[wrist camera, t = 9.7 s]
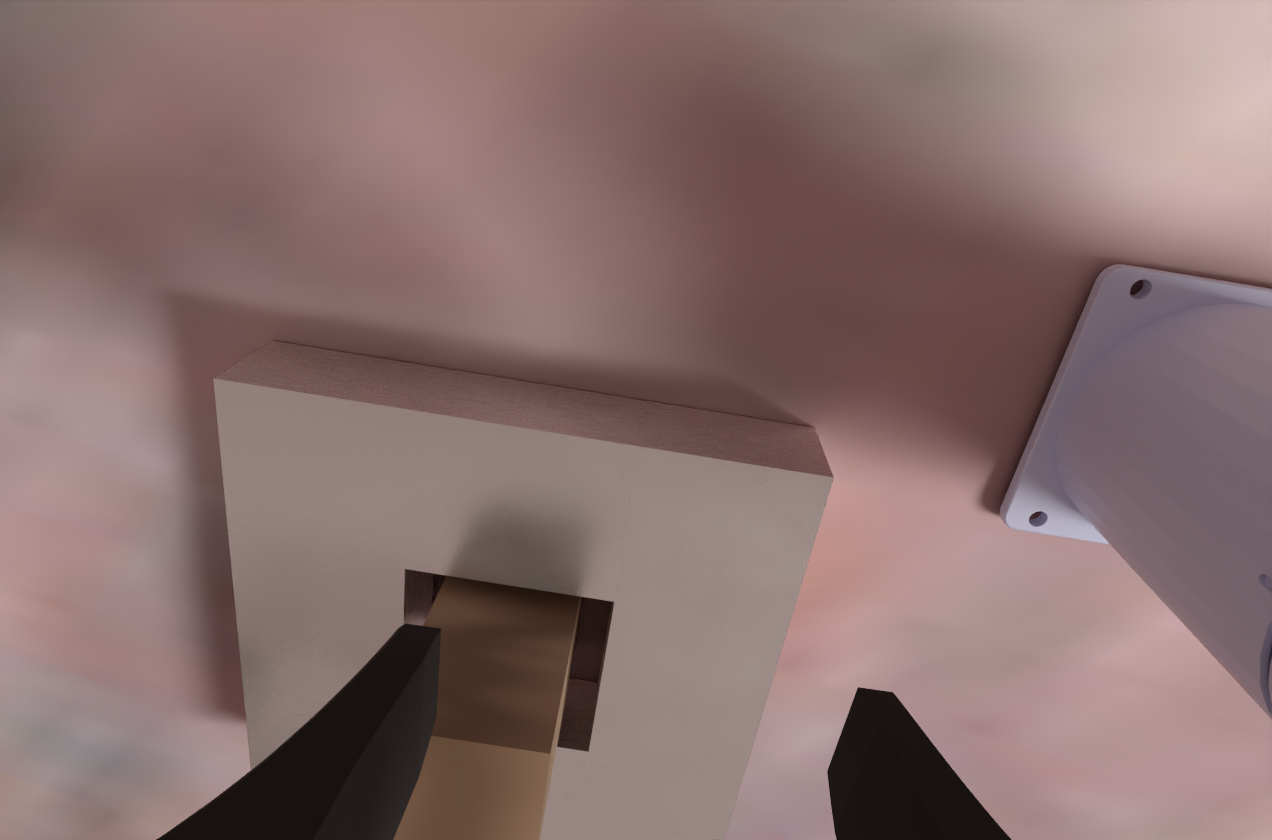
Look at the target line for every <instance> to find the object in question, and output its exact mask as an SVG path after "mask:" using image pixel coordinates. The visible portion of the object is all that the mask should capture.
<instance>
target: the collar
mask: <svg viewBox="0 0 1272 840" xmlns="http://www.w3.org/2000/svg"><path fill="white" fill-rule="evenodd" d="M213 382H214V392H215V403H216V413H217V423H218V434H219V444H220V455H221V465H222V475H223V486H224V496H225V506H226V517H227V527H228V537H229V548H230V558H231V568H232V579H233V589H234V599H235V610H236V620H237V631H238V641H239V651H240V662H241V672H242V682H243V693H244V703H245V713H246V724H247V734H248V744H249V755H250V765H251V770H252V769H253V768H255V767H256V766H257V765H258V764H259V763H261V762H262V761H263V760H264V759H266V758H267V757H268V756H269V755H270V754H272V753H273V752H274V751H275V750H276V749H277V748H278V747H279V746H281V745H282V744H283V743H284V742H285V741H286V740H287V739H288V738H290V737H291V736H292V735H293V734H294V733H295V732H296V731H298V730H299V729H300V728H301V727H302V726H303V725H304V724H305V723H307V722H308V721H309V720H310V719H311V718H312V717H313V716H314V715H315V714H316V713H317V712H318V711H320V710H321V709H322V708H323V707H324V706H325V705H326V704H327V703H328V702H329V701H330V700H331V699H332V698H333V697H334V696H335V695H336V694H337V693H338V692H339V691H340V690H341V689H342V688H343V687H344V686H345V685H346V684H347V683H348V682H349V681H350V680H351V679H352V678H353V677H354V676H355V675H356V674H357V673H358V672H359V671H360V670H361V669H362V668H363V667H364V666H365V665H366V663H367V662H368V661H369V660H370V659H371V658H372V657H373V656H374V655H375V654H376V653H377V652H378V651H379V649H380V648H381V647H382V646H383V645H384V644H385V643H386V642H387V641H388V639H389V638H390V637H391V636H392V635H393V634H394V632H395V631H396V630H397V629H398V628H399V627H401V626H402V625H404V624H405V623H406V624H413V625H420V626H423V624H424V622H425V620H426V618H427V616H428V614H429V611H430V609H431V607H432V602H433V580H434V574H440V575H446V576H453V577H459V578H465V579H472V580H478V581H485V582H491V583H497V584H504V585H510V586H517V587H523V588H529V589H536V590H542V591H548V592H555V593H561V594H568V595H574V596H580V597H587V598H593V599H599V600H606V601H612V604H611V609H610V615H609V621H608V627H607V633H606V639H605V645H604V650H603V656H602V662H601V668H600V674H599V680H598V682H593V681H587V680H580V679H574V678H570V679H569V684H568V690H567V695H566V700H565V706H564V711H563V717H562V722H561V727H560V733H559V738H558V744H557V749H556V754H555V760H554V765H553V770H552V776H551V781H550V787H549V792H548V797H547V803H546V808H545V814H544V819H543V824H542V830H541V835H540V840H724V839H725V836H726V833H727V829H728V826H729V823H730V819H731V816H732V813H733V809H734V806H735V803H736V800H737V796H738V793H739V790H740V786H741V783H742V780H743V776H744V773H745V770H746V766H747V763H748V760H749V756H750V753H751V750H752V747H753V743H754V740H755V737H756V733H757V730H758V727H759V723H760V720H761V717H762V713H763V710H764V707H765V703H766V700H767V697H768V694H769V690H770V687H771V684H772V680H773V677H774V674H775V670H776V667H777V664H778V660H779V657H780V654H781V650H782V647H783V644H784V641H785V637H786V634H787V631H788V627H789V624H790V621H791V617H792V614H793V611H794V607H795V604H796V601H797V597H798V594H799V591H800V588H801V584H802V581H803V578H804V574H805V571H806V568H807V564H808V561H809V558H810V554H811V551H812V548H813V545H814V541H815V538H816V535H817V531H818V528H819V525H820V521H821V518H822V515H823V511H824V508H825V505H826V501H827V498H828V495H829V492H830V488H831V485H832V482H833V478H834V477H833V474H832V472H831V469H830V466H829V464H828V461H827V459H826V456H825V453H824V451H823V448H822V446H821V443H820V440H819V438H818V435H817V433H816V430H815V428H813V427H807V426H801V425H794V424H788V423H782V422H776V421H770V420H763V419H757V418H751V417H745V416H738V415H732V414H726V413H720V412H714V411H707V410H701V409H695V408H689V407H682V406H676V405H670V404H664V403H658V402H651V401H645V400H639V399H633V398H626V397H620V396H614V395H608V394H601V393H595V392H589V391H583V390H577V389H570V388H564V387H558V386H552V385H545V384H539V383H533V382H527V381H521V380H514V379H508V378H502V377H496V376H489V375H483V374H477V373H471V372H465V371H458V370H452V369H446V368H440V367H433V366H427V365H421V364H415V363H409V362H402V361H396V360H390V359H384V358H377V357H371V356H365V355H359V354H352V353H346V352H340V351H334V350H328V349H321V348H315V347H309V346H303V345H296V344H290V343H284V342H278V341H271V342H269V343H267V344H266V345H264V346H263V347H261V348H260V349H258V350H257V351H255V352H253V353H252V354H250V355H249V356H247V357H246V358H244V359H243V360H241V361H239V362H238V363H236V364H235V365H233V366H232V367H230V368H228V369H227V370H225V371H224V372H222V373H221V374H219V375H218V376H216V377H214V378H213Z"/></svg>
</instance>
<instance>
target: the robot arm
mask: <svg viewBox="0 0 1272 840" xmlns="http://www.w3.org/2000/svg"><path fill="white" fill-rule="evenodd" d="M1139 280H1143V287H1142V289H1141V290H1140V291H1139V292H1138V293H1136V294H1135V295H1130V289H1131V287H1132V285H1133V284H1134V283H1135V282H1137V281H1139ZM1039 511H1042V512H1041V514H1040V516H1039V517H1037V518H1035V519H1029V517H1030V516H1031V515H1032V514H1033V513H1035V512H1039ZM1000 516H1001V519H1002V520H1003V522H1004V523H1005V524H1006V525H1007V526H1008V527H1009V528H1012V529H1015V530H1021V531H1027V532H1033V533H1040V534H1046V535H1052V536H1058V537H1065V538H1071V539H1077V540H1083V541H1090V542H1096V543H1102V544H1109V545H1111V546H1112V547H1113V548H1114V549H1115V550H1116V551H1117V552H1118V553H1119V555H1120V556H1121V557H1122V558H1123V559H1124V560H1125V561H1126V562H1127V563H1128V564H1129V565H1130V566H1131V568H1132V569H1133V570H1134V571H1135V572H1136V573H1137V574H1138V575H1139V576H1140V577H1141V578H1142V579H1143V581H1144V582H1145V583H1146V584H1147V585H1148V586H1149V587H1150V588H1151V589H1152V590H1153V591H1154V592H1155V594H1156V595H1157V596H1158V597H1159V598H1160V599H1161V600H1162V601H1163V602H1164V603H1165V604H1166V605H1167V606H1168V608H1169V609H1170V610H1171V611H1172V612H1173V613H1174V614H1175V615H1176V616H1177V617H1178V618H1179V619H1180V621H1181V622H1182V623H1183V624H1184V625H1185V626H1186V627H1187V628H1188V629H1189V630H1190V631H1191V632H1192V634H1193V635H1194V636H1195V637H1196V638H1197V639H1198V640H1199V641H1200V642H1201V643H1202V644H1203V645H1204V647H1205V648H1206V649H1207V650H1208V651H1209V652H1210V653H1211V654H1212V655H1213V656H1214V657H1215V658H1216V660H1217V661H1218V662H1219V663H1220V664H1221V665H1222V666H1223V667H1224V668H1225V669H1226V670H1227V671H1228V673H1229V674H1230V675H1231V676H1232V677H1233V678H1234V679H1235V680H1236V681H1237V682H1238V683H1239V684H1240V686H1241V687H1242V688H1243V689H1244V690H1245V691H1246V692H1247V693H1248V694H1249V695H1250V696H1251V697H1252V698H1253V700H1254V701H1255V702H1256V703H1257V704H1258V705H1259V706H1260V707H1261V708H1262V709H1263V710H1264V711H1265V713H1266V714H1267V715H1268V716H1269V717H1270V718H1271V719H1272V289H1271V288H1265V287H1259V286H1253V285H1247V284H1241V283H1235V282H1229V281H1222V280H1216V279H1210V278H1204V277H1198V276H1192V275H1186V274H1180V273H1174V272H1168V271H1162V270H1156V269H1150V268H1144V267H1137V266H1131V265H1125V264H1115V265H1112V266H1109V267H1107V268H1106V269H1105V270H1103V271H1102V272H1101V273H1100V274H1099V276H1098V277H1097V279H1096V281H1095V283H1094V286H1093V288H1092V290H1091V293H1090V295H1089V297H1088V300H1087V302H1086V305H1085V307H1084V309H1083V312H1082V314H1081V317H1080V319H1079V321H1078V324H1077V326H1076V329H1075V331H1074V333H1073V336H1072V338H1071V340H1070V343H1069V345H1068V348H1067V350H1066V352H1065V355H1064V357H1063V360H1062V362H1061V364H1060V367H1059V369H1058V371H1057V374H1056V376H1055V379H1054V381H1053V383H1052V386H1051V388H1050V391H1049V393H1048V395H1047V398H1046V400H1045V403H1044V405H1043V407H1042V410H1041V412H1040V414H1039V417H1038V419H1037V422H1036V424H1035V426H1034V429H1033V431H1032V434H1031V436H1030V438H1029V441H1028V443H1027V445H1026V448H1025V450H1024V453H1023V455H1022V457H1021V460H1020V462H1019V465H1018V467H1017V469H1016V472H1015V474H1014V477H1013V479H1012V481H1011V484H1010V486H1009V488H1008V491H1007V493H1006V496H1005V498H1004V500H1003V503H1002V505H1001V508H1000ZM440 641H441V628H434V627H427V626H420V625H413V624H406V623H405V624H404V625H402V626H401V627H399V628H398V629H397V630H396V631H395V632H394V634H393V635H392V636H391V637H390V638H389V639H388V641H387V642H386V643H385V644H384V645H383V646H382V647H381V648H380V649H379V651H378V652H377V653H376V654H375V655H374V656H373V657H372V658H371V659H370V660H369V661H368V662H367V663H366V665H365V666H364V667H363V668H362V669H361V670H360V671H359V672H358V673H357V674H356V675H355V676H354V677H353V678H352V679H351V680H350V681H349V682H348V683H347V684H346V685H345V686H344V687H343V688H342V689H341V690H340V691H339V692H338V693H337V694H336V695H335V696H334V697H333V698H332V699H331V700H330V701H329V702H328V703H327V704H326V705H325V706H324V707H323V708H322V709H321V710H320V711H318V712H317V713H316V714H315V715H314V716H313V717H312V718H311V719H310V720H309V721H308V722H307V723H305V724H304V725H303V726H302V727H301V728H300V729H299V730H298V731H296V732H295V733H294V734H293V735H292V736H291V737H290V738H288V739H287V740H286V741H285V742H284V743H283V744H282V745H281V746H279V747H278V748H277V749H276V750H275V751H274V752H273V753H272V754H270V755H269V756H268V757H267V758H266V759H264V760H263V761H262V762H261V763H259V764H258V765H257V766H256V767H255V768H253V769H252V770H251V771H250V772H248V773H247V774H246V775H245V776H243V777H242V778H241V779H240V780H238V781H237V782H236V783H235V784H233V785H232V786H231V787H229V788H228V789H227V790H225V791H224V792H223V793H221V794H220V795H219V796H218V797H216V798H215V799H214V800H212V801H211V802H210V803H208V804H207V805H205V806H204V807H203V808H201V809H200V810H198V811H197V812H195V813H194V814H193V815H191V816H190V817H188V818H187V819H186V820H184V821H183V822H181V823H180V824H179V825H177V826H176V827H174V828H173V829H171V830H170V831H169V832H167V833H166V834H164V835H163V836H161V837H160V838H158V839H157V840H393V839H394V837H395V834H396V832H397V829H398V827H399V825H400V822H401V820H402V817H403V815H404V812H405V810H406V808H407V805H408V803H409V800H410V798H411V795H412V793H413V791H414V788H415V786H416V783H417V781H418V778H419V775H420V772H421V769H422V765H423V762H424V759H425V755H426V752H427V749H428V745H429V742H430V738H431V735H432V731H433V728H434V724H435V721H436V718H437V699H438V679H439V660H440ZM827 772H828V781H829V789H830V798H831V806H832V813H833V821H834V828H835V834H836V838H837V840H1011V839H1010V838H1009V836H1008V835H1007V834H1006V833H1005V832H1004V831H1003V830H1002V829H1001V827H1000V826H999V825H998V824H997V823H996V822H995V820H994V819H993V818H992V817H991V816H990V815H989V813H988V812H987V811H986V810H985V809H984V807H983V806H982V805H981V804H980V803H979V801H978V800H977V799H976V798H975V797H974V795H973V794H972V793H971V792H970V790H969V789H968V788H967V787H966V785H965V784H964V783H963V782H962V781H961V779H960V778H959V777H958V776H957V774H956V773H955V772H954V770H953V769H952V768H951V767H950V765H949V764H948V763H947V762H946V760H945V759H944V758H943V756H942V755H941V754H940V753H939V751H938V750H937V749H936V747H935V746H934V745H933V744H932V742H931V741H930V740H929V738H928V737H927V736H926V734H925V733H924V732H923V731H922V729H921V728H920V727H919V725H918V724H917V723H916V721H915V720H914V719H913V717H912V716H911V715H910V714H909V712H908V711H907V710H906V708H905V707H904V706H903V705H902V703H901V702H900V701H899V699H898V698H897V697H896V696H895V694H894V693H893V692H887V691H880V690H873V689H866V688H858V689H857V692H856V694H855V697H854V700H853V703H852V705H851V708H850V711H849V714H848V716H847V719H846V722H845V725H844V727H843V730H842V733H841V736H840V738H839V741H838V744H837V746H836V749H835V752H834V755H833V757H832V760H831V763H830V766H829V768H828V771H827Z"/></svg>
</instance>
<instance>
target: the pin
mask: <svg viewBox="0 0 1272 840" xmlns="http://www.w3.org/2000/svg"><path fill="white" fill-rule="evenodd" d="M582 599H583V597H580V596H574V595H568V594H561V593H555V592H548V591H542V590H536V589H529V588H523V587H517V586H510V585H504V584H497V583H491V582H485V581H478V580H472V579H465V578H459V577H453V576H446V578H445V580H444V582H443V584H442V586H441V588H440V590H439V592H438V595H437V597H436V599H435V601H434V603H433V605H432V607H431V609H430V611H429V614H428V616H427V618H426V620H425V622H424V624H423V626H427V627H434V628H441V641H440V660H439V679H438V699H437V718H436V721H435V724H434V728H433V731H432V735H431V738H430V742H429V745H428V749H427V752H426V755H425V759H424V762H423V765H422V769H421V772H420V775H419V778H418V781H417V783H416V786H415V788H414V791H413V793H412V795H411V798H410V800H409V803H408V805H407V808H406V810H405V812H404V815H403V817H402V820H401V822H400V825H399V827H398V829H397V832H396V834H395V837H394V839H393V840H540V835H541V830H542V824H543V819H544V814H545V808H546V803H547V797H548V792H549V787H550V781H551V776H552V770H553V765H554V760H555V754H556V749H557V744H558V738H559V733H560V727H561V722H562V717H563V711H564V706H565V700H566V695H567V690H568V684H569V679H570V673H571V668H572V663H573V657H574V652H575V646H576V640H577V633H578V626H579V619H580V612H581V606H582Z"/></svg>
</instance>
